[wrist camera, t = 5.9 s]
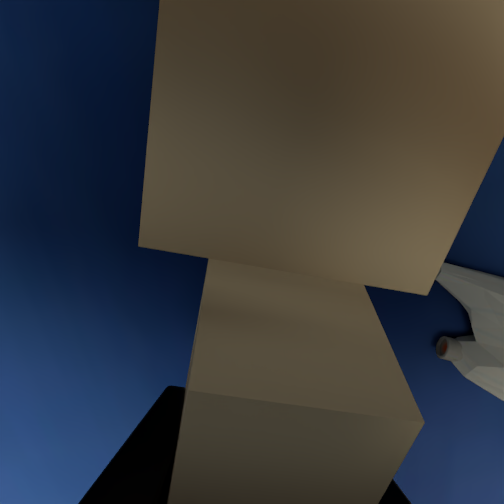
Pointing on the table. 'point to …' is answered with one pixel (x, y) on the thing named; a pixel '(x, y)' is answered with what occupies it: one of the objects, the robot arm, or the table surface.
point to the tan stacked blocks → (311, 223)
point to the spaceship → (476, 327)
